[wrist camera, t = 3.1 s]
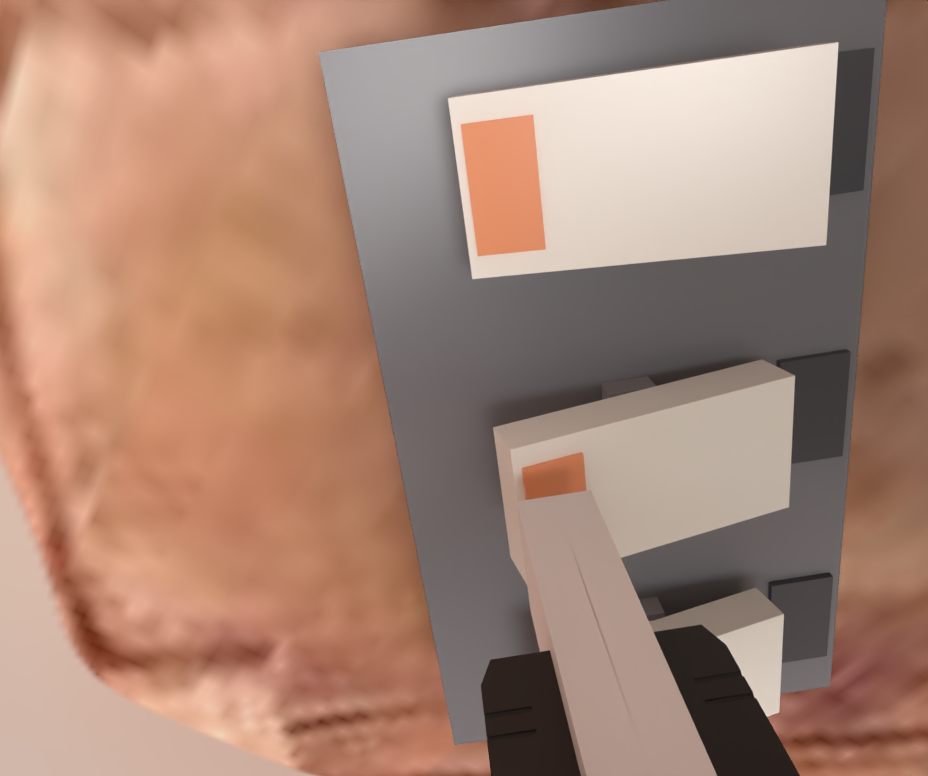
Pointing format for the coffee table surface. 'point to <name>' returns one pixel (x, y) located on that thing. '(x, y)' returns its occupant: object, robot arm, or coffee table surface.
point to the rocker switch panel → (599, 321)
